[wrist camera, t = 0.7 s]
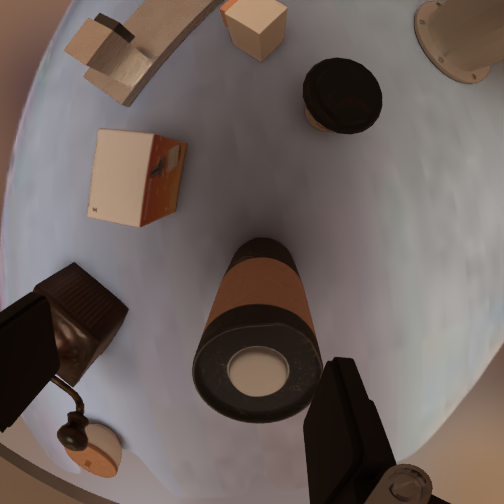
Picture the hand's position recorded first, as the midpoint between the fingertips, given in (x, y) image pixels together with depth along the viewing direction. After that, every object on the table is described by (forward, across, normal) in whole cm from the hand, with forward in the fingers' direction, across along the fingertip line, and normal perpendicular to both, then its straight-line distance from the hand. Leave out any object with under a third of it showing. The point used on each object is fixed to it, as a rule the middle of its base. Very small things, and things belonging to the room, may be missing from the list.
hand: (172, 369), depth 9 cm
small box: (+26, +10, -4) cm, 28 cm away
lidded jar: (+26, +21, +44) cm, 55 cm away
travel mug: (+26, -3, +5) cm, 27 cm away
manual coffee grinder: (+26, +18, +17) cm, 36 cm away
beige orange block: (+26, +2, -21) cm, 34 cm away
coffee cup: (+26, -7, -14) cm, 30 cm away
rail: (+26, +12, -24) cm, 37 cm away
